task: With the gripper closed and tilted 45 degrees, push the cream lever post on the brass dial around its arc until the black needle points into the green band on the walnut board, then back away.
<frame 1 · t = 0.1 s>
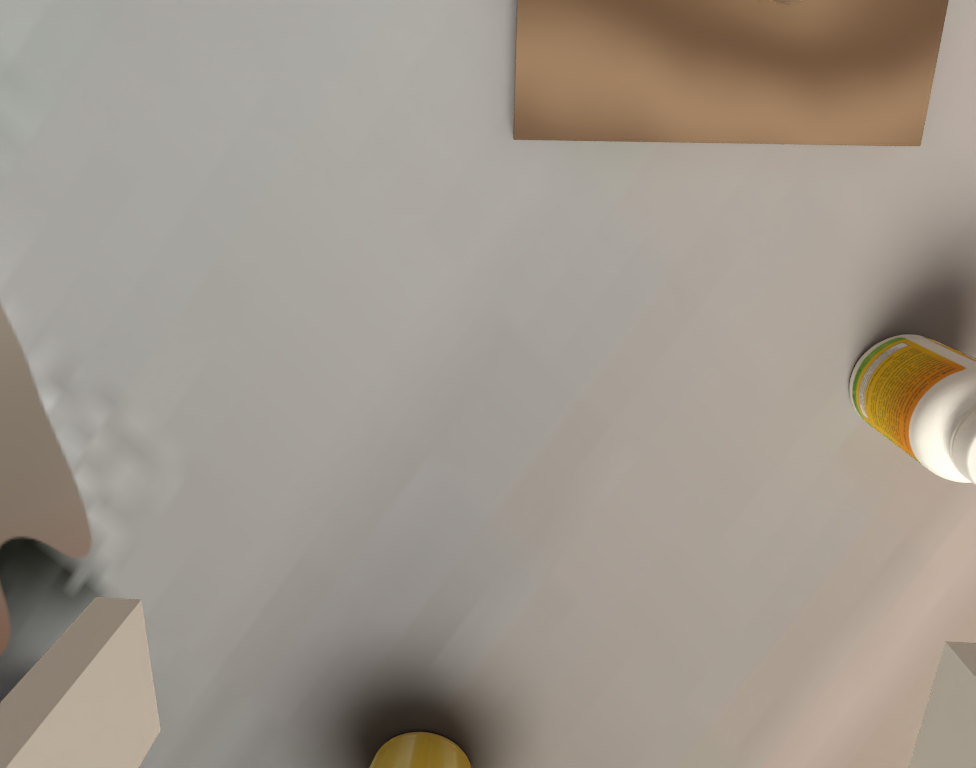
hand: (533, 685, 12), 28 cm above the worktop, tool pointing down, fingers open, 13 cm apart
supplement bottle: (895, 379, 39), on the worktop
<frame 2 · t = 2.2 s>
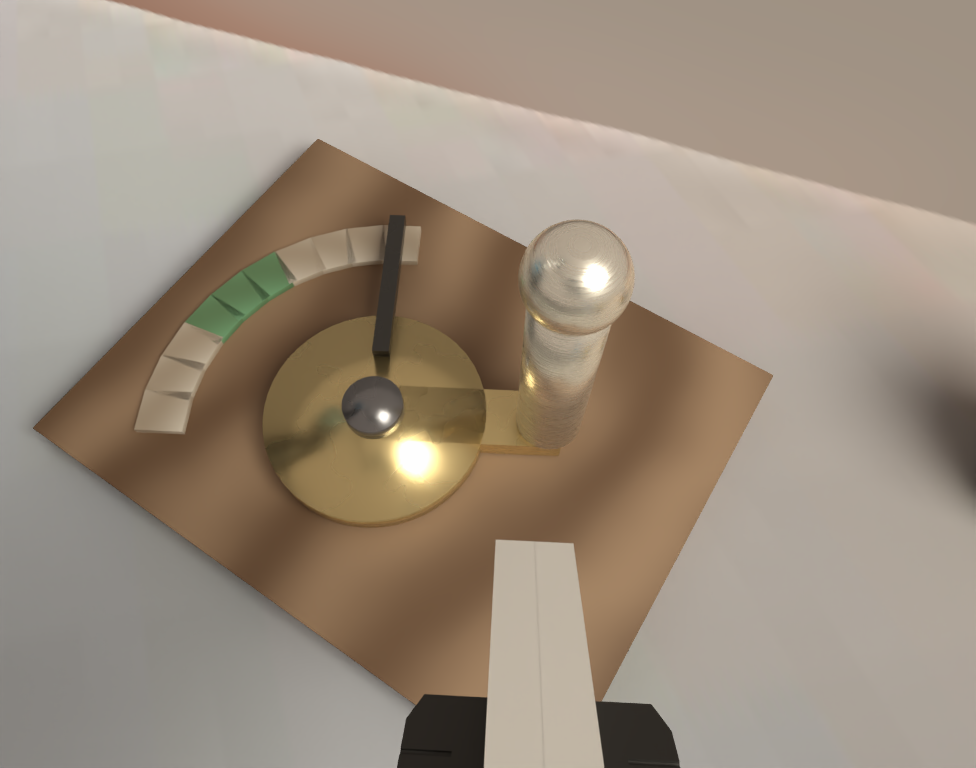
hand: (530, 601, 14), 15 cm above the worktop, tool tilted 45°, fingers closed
gauge board: (412, 415, 32), on the worktop
dial: (417, 324, 25), point 8 cm above the worktop, hinge at 0.0°
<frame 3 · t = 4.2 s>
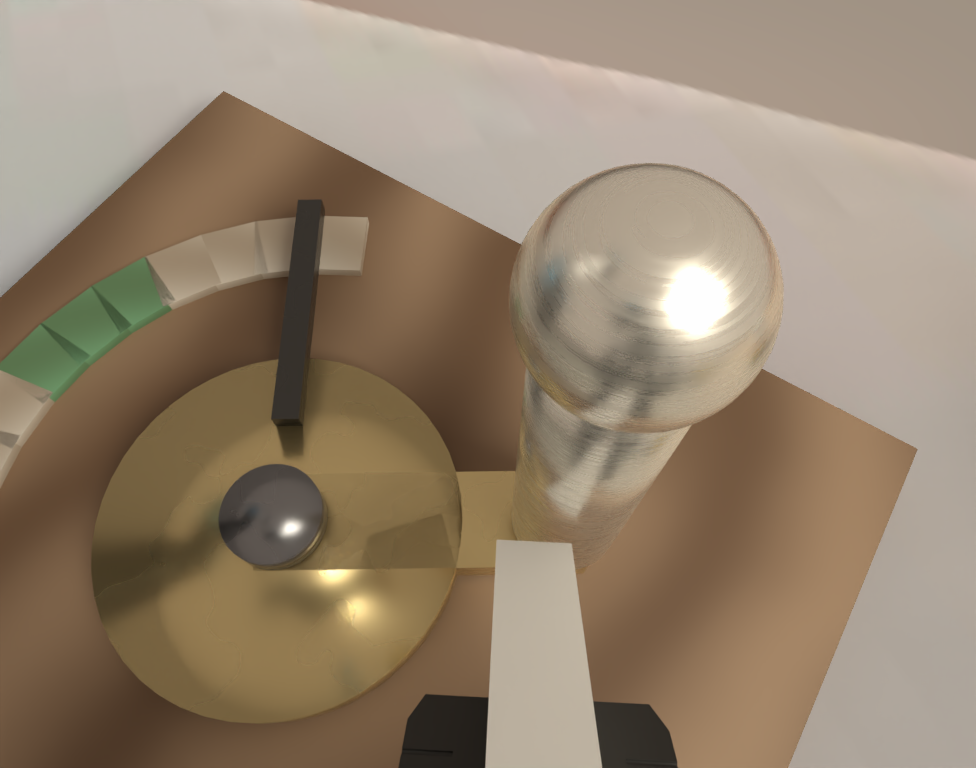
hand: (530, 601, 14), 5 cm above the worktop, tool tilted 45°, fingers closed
gauge board: (351, 510, 21), on the worktop
dial: (323, 391, 13), point 8 cm above the worktop, hinge at 3.3°, touching gripper
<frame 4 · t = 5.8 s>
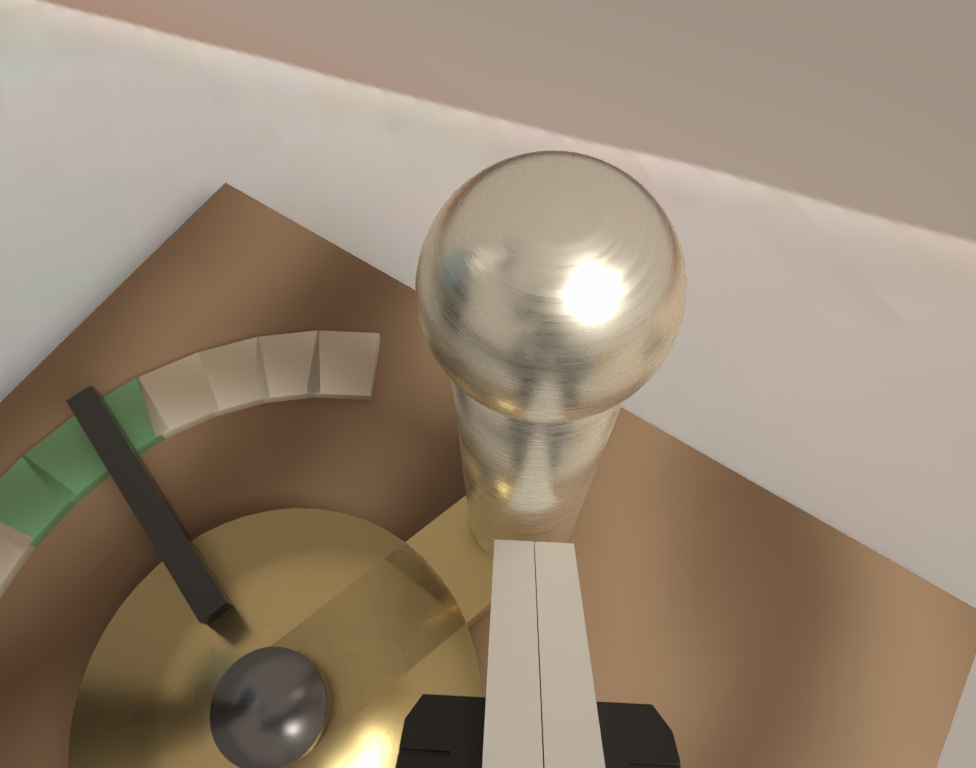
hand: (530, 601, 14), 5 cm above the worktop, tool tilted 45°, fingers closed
gauge board: (358, 668, 19), on the worktop
dial: (266, 560, 12), point 8 cm above the worktop, hinge at 42.0°, touching gripper
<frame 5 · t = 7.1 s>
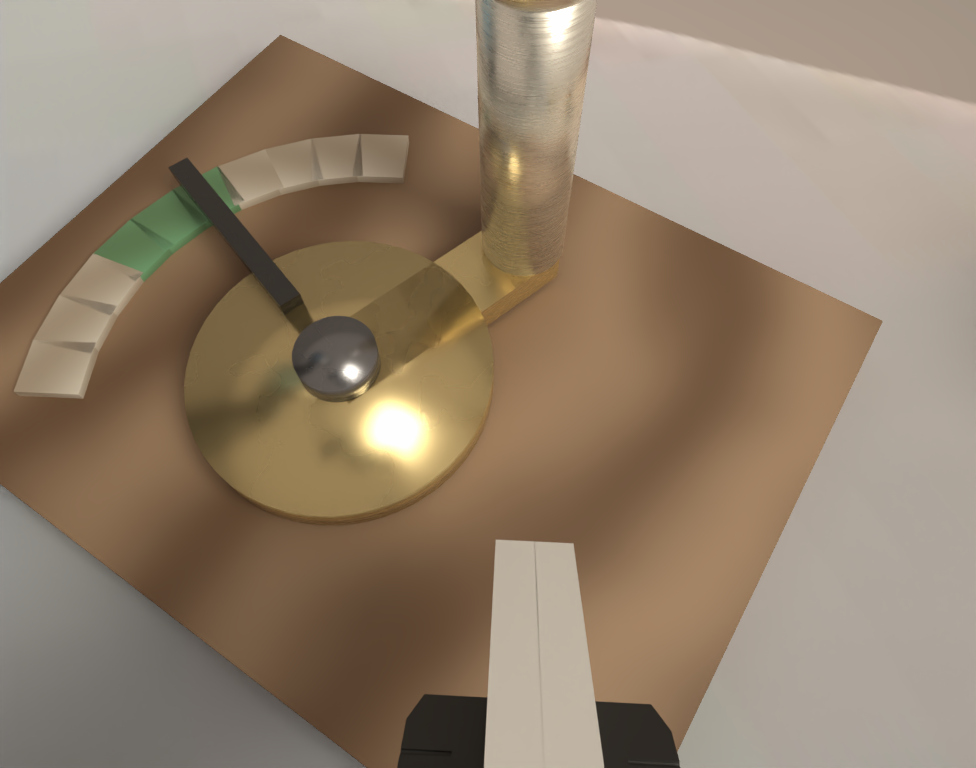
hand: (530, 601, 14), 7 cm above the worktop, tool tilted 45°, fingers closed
gauge board: (395, 376, 24), on the worktop
dial: (346, 183, 17), point 8 cm above the worktop, hinge at 42.0°
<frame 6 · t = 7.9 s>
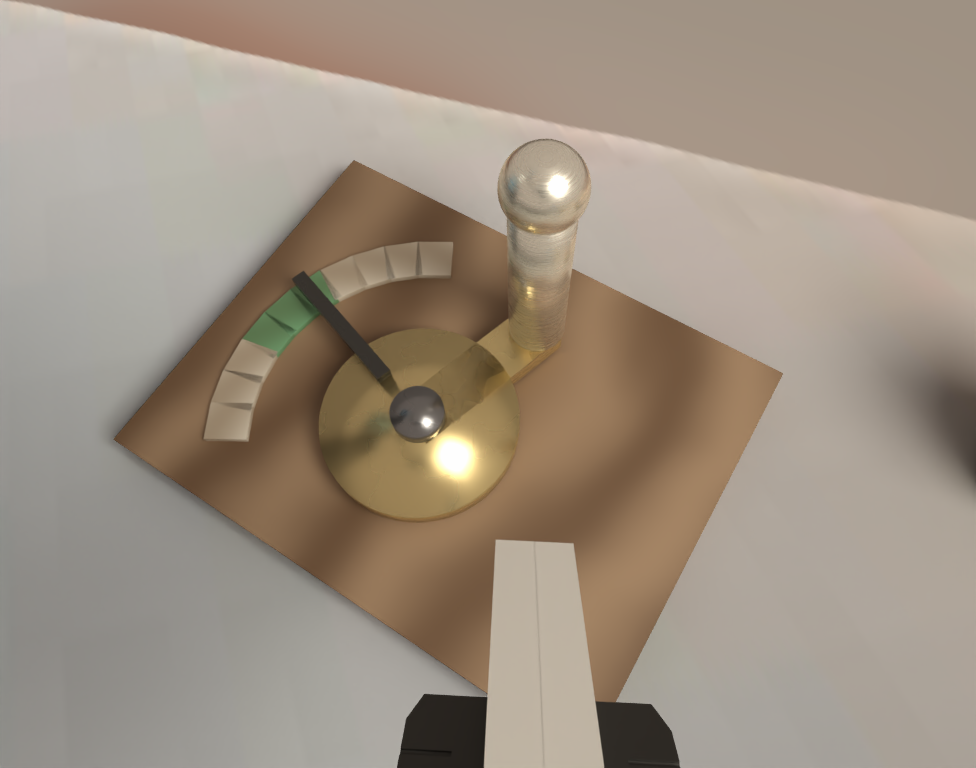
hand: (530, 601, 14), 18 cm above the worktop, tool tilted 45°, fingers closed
gauge board: (451, 417, 35), on the worktop
dial: (428, 317, 28), point 8 cm above the worktop, hinge at 42.0°
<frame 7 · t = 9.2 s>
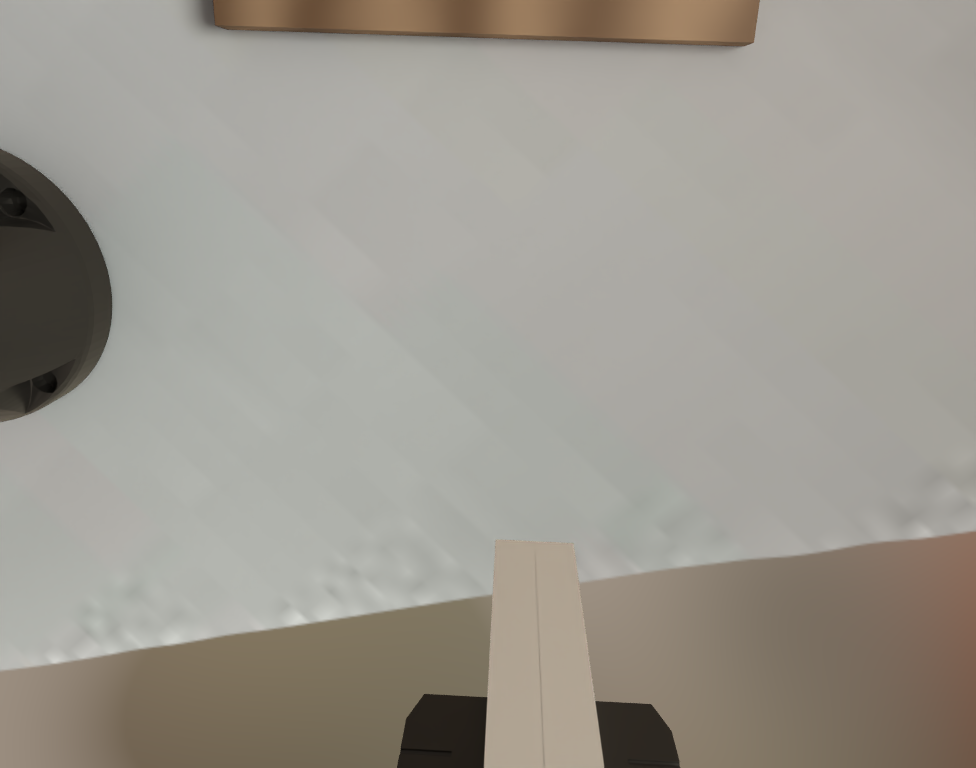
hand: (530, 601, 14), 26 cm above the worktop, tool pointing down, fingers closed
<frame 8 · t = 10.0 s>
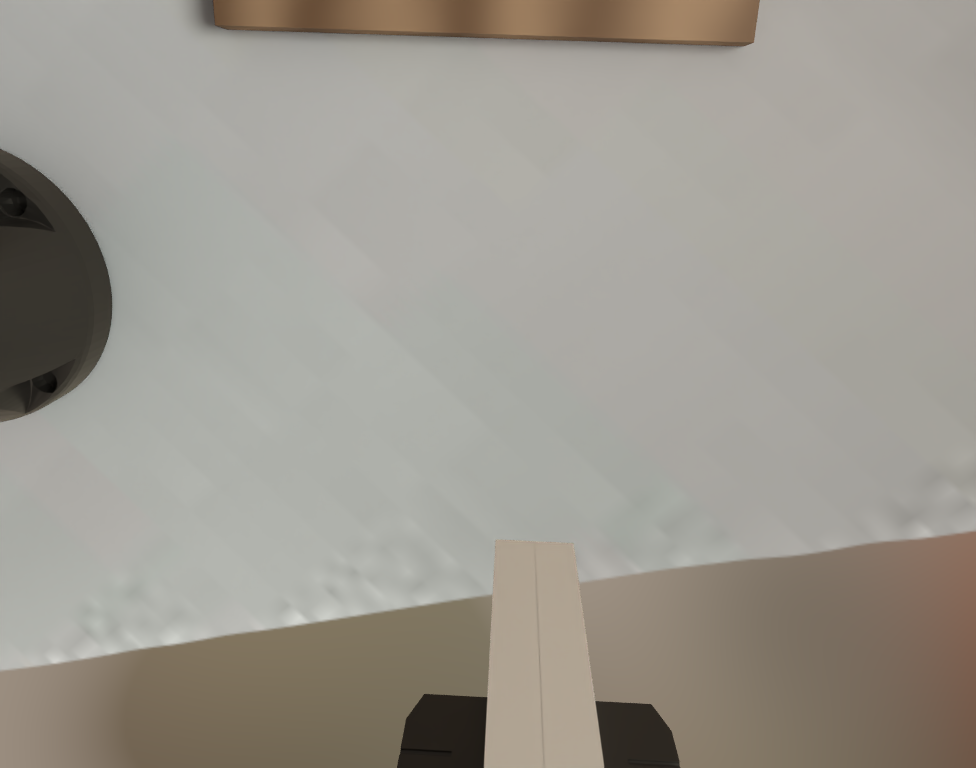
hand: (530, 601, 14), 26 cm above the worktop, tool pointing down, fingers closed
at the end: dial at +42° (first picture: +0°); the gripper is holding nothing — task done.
